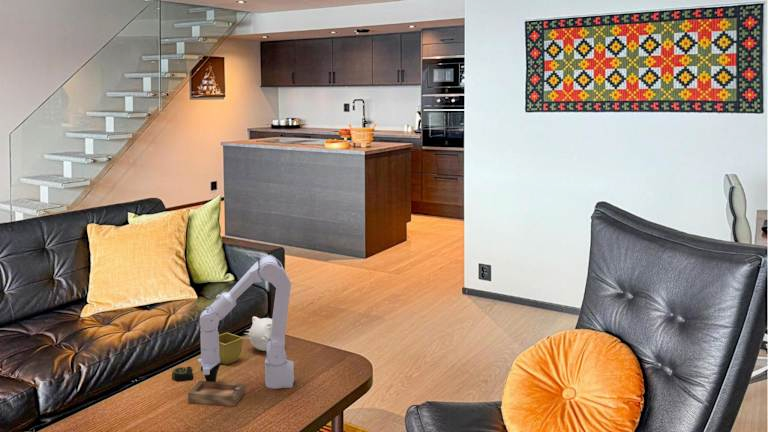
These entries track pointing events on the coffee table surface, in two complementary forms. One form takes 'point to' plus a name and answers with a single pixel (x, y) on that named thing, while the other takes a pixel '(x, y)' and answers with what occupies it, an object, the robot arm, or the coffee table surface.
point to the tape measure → (182, 374)
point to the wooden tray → (216, 393)
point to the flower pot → (229, 348)
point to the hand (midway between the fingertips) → (211, 386)
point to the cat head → (259, 332)
